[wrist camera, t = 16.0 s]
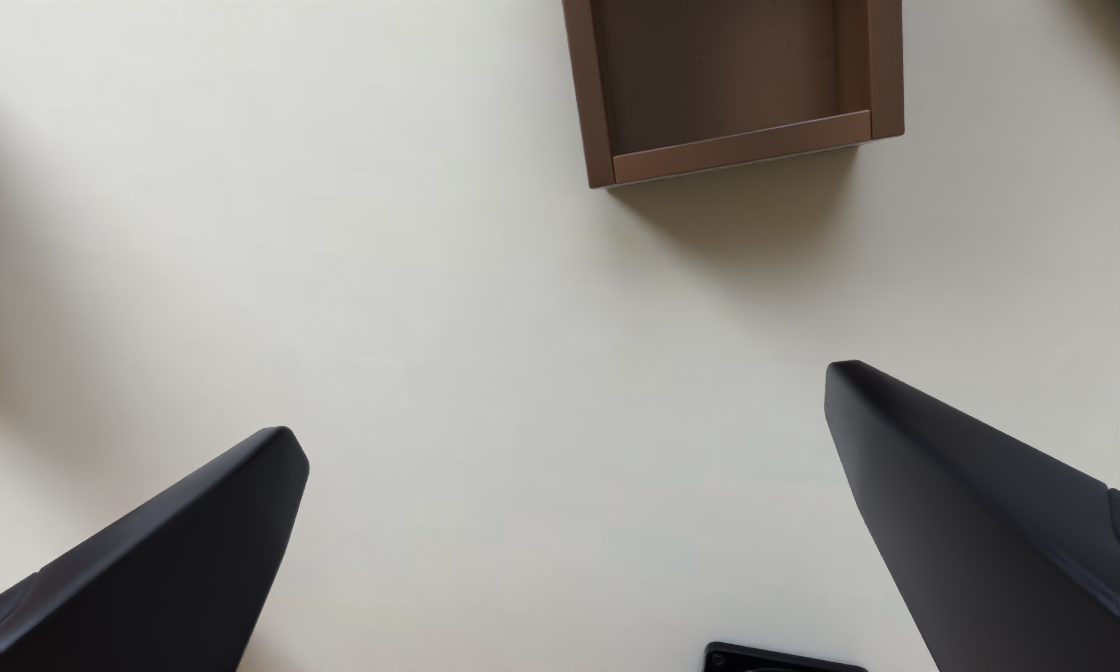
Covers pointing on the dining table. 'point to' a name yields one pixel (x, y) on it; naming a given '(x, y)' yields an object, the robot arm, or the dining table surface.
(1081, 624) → the robot arm
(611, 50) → the brown divided tray
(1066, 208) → the dining table surface
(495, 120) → the dining table surface
